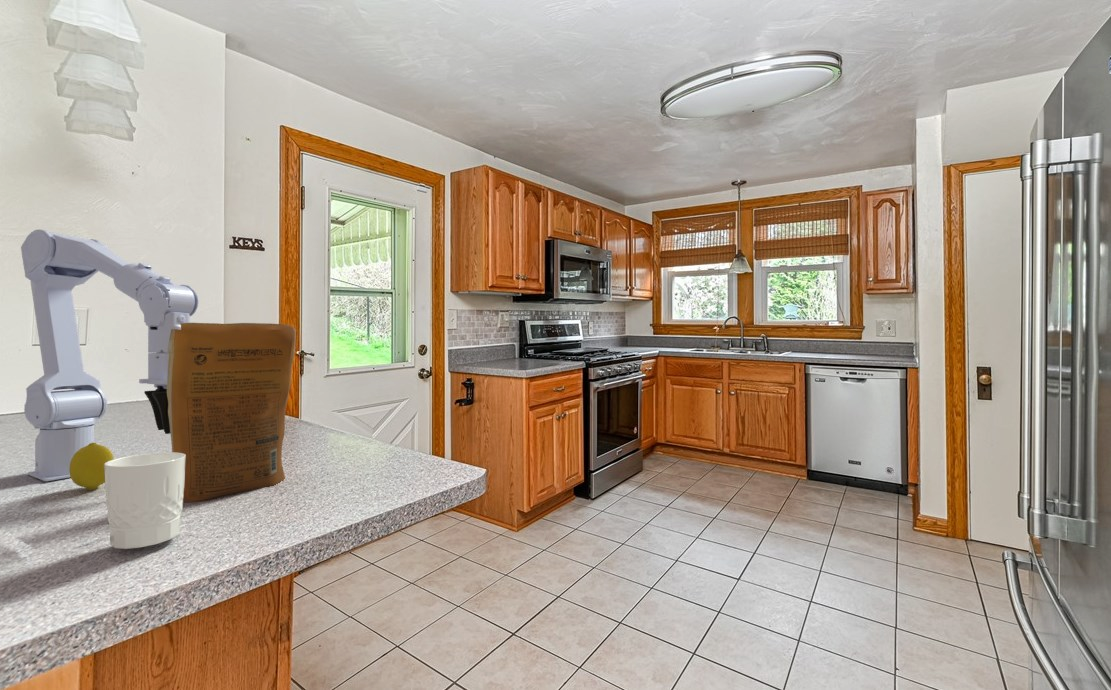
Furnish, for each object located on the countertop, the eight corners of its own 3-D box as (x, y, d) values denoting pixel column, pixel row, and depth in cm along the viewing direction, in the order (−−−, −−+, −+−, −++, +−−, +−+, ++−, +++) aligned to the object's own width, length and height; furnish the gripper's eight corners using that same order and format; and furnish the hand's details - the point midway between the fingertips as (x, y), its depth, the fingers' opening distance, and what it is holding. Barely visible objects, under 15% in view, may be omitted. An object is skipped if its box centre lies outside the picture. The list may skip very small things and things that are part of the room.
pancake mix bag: (304, 483, 88) (304, 323, 88) (169, 511, 73) (170, 319, 73) (287, 477, 92) (288, 325, 92) (158, 501, 77) (158, 321, 77)
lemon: (87, 496, 80) (87, 446, 80) (60, 494, 81) (60, 445, 81) (123, 486, 86) (123, 440, 86) (96, 485, 87) (96, 439, 87)
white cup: (136, 528, 66) (136, 452, 66) (199, 526, 67) (199, 451, 67) (85, 552, 58) (85, 467, 58) (157, 550, 59) (157, 465, 59)
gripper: (132, 352, 89) (132, 429, 89) (147, 353, 79) (147, 439, 79) (181, 352, 94) (181, 424, 94) (201, 353, 84) (201, 433, 84)
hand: (169, 431), depth 87 cm, fingers open, 5 cm apart
